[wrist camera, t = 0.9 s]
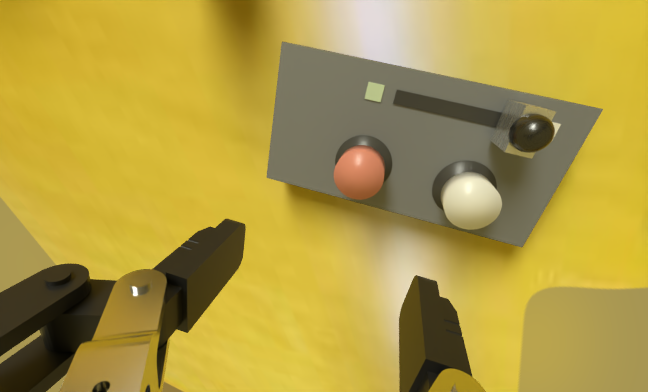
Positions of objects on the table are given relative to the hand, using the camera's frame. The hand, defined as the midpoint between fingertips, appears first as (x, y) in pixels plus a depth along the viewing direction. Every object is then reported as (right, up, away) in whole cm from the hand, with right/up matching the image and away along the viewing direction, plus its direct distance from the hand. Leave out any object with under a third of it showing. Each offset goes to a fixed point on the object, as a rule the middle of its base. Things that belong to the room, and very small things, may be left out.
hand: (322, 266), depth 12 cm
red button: (+3, +5, +11) cm, 13 cm away
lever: (+13, +8, +9) cm, 18 cm away
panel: (+7, +8, +15) cm, 18 cm away
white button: (+11, +3, +10) cm, 15 cm away
